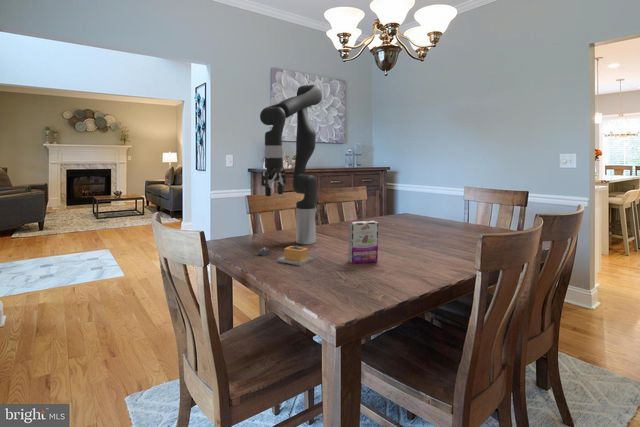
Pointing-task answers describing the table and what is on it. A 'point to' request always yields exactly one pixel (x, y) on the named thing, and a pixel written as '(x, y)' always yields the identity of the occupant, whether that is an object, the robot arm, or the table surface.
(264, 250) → the grey knob block
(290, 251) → the orange link
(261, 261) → the table surface
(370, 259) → the candy bar box
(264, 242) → the table surface
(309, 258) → the plate
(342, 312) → the table surface
